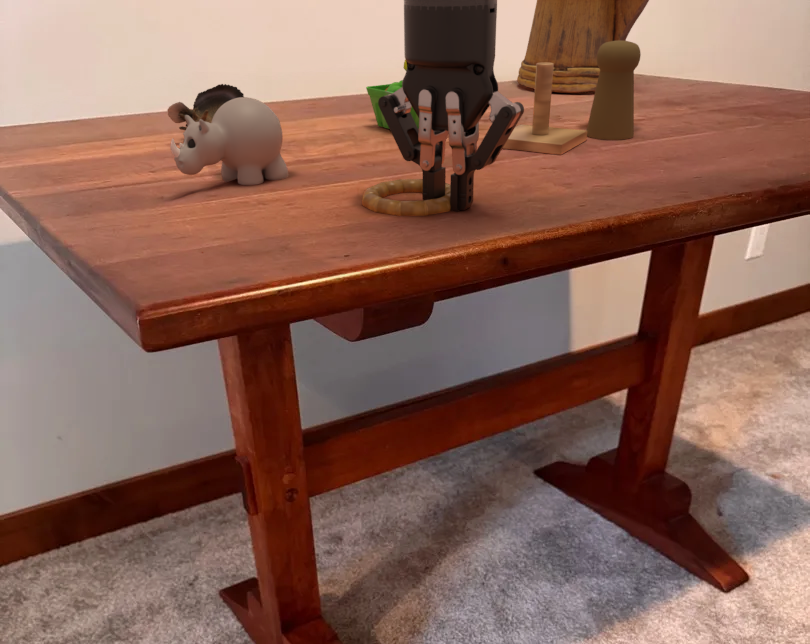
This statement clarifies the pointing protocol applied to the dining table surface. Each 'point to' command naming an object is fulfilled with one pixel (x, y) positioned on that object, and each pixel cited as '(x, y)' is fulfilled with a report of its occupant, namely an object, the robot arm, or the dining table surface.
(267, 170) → the toy rhinoceros
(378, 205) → the ring
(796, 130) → the dining table surface
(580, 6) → the tankard
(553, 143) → the post
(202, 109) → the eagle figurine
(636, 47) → the cork
